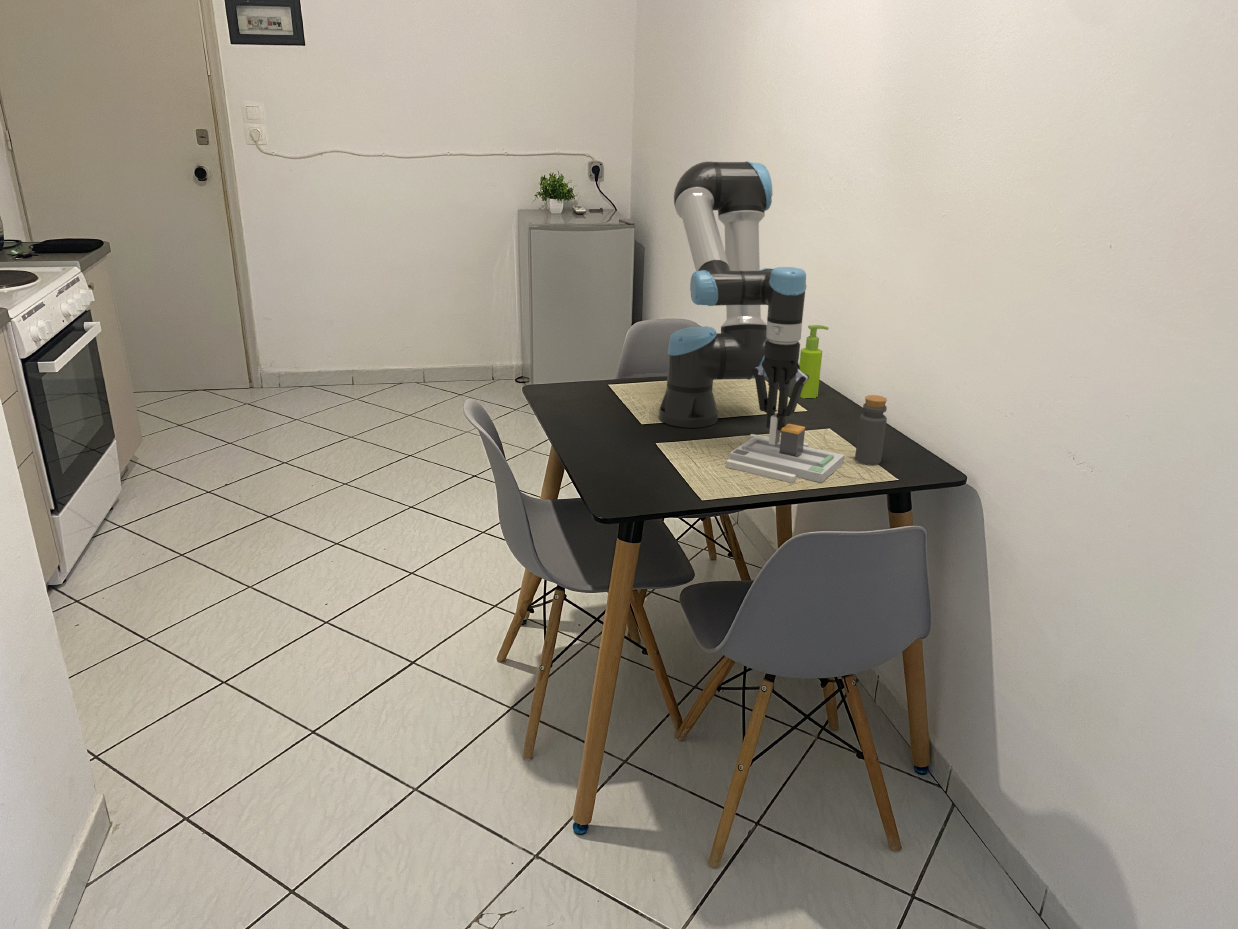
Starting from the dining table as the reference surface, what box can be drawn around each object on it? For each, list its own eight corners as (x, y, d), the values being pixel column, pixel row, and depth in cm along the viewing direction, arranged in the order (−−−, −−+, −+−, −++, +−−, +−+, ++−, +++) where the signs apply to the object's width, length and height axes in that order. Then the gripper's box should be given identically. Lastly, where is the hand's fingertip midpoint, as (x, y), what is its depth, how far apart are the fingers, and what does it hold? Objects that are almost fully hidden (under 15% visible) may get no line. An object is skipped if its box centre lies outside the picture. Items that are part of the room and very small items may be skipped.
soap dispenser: (823, 399, 246) (830, 328, 239) (798, 398, 246) (805, 327, 239) (819, 392, 252) (826, 323, 244) (794, 392, 252) (801, 323, 245)
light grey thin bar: (749, 441, 213) (749, 435, 213) (751, 439, 215) (751, 433, 214) (806, 450, 208) (807, 445, 208) (808, 448, 209) (808, 443, 209)
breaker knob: (779, 453, 199) (781, 428, 197) (786, 448, 202) (788, 423, 200) (795, 457, 197) (798, 431, 195) (802, 451, 200) (805, 426, 198)
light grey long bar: (725, 466, 197) (726, 461, 197) (728, 465, 199) (728, 459, 198) (792, 483, 189) (793, 476, 189) (795, 480, 191) (796, 474, 190)
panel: (729, 461, 201) (729, 449, 200) (754, 443, 212) (755, 432, 211) (821, 482, 190) (822, 470, 189) (843, 463, 201) (844, 451, 200)
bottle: (876, 467, 199) (885, 403, 194) (851, 461, 202) (859, 398, 196) (884, 459, 204) (892, 397, 198) (859, 454, 207) (867, 392, 201)
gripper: (748, 339, 193) (740, 441, 201) (804, 348, 186) (794, 453, 194) (762, 333, 198) (755, 432, 207) (817, 341, 192) (807, 443, 200)
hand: (774, 442), depth 201 cm, fingers closed
